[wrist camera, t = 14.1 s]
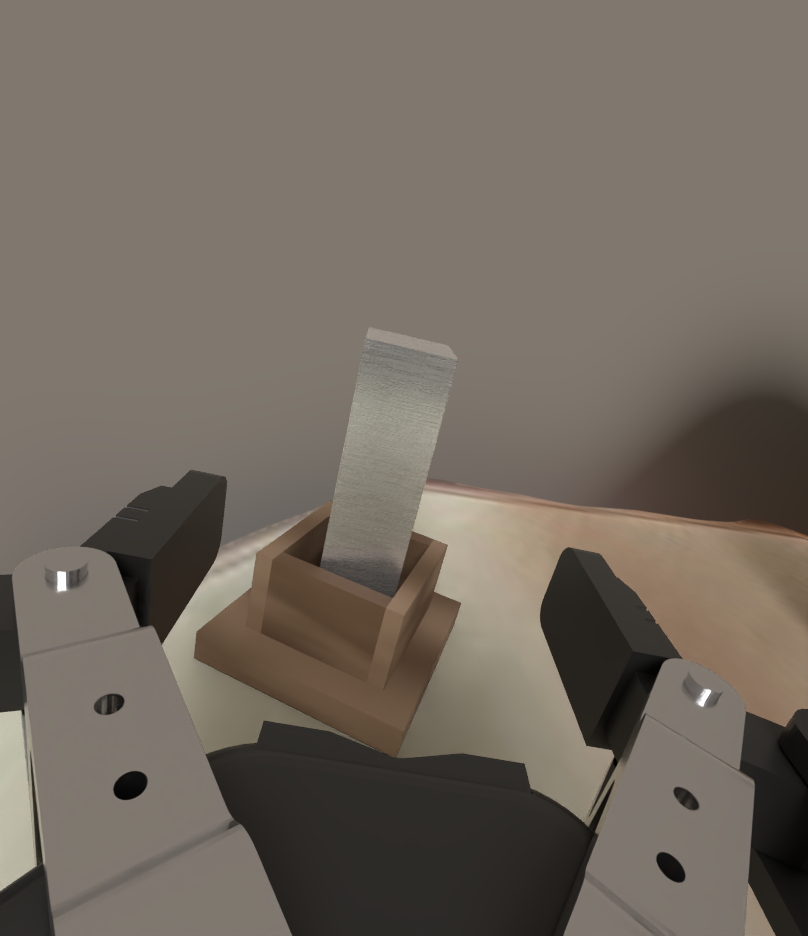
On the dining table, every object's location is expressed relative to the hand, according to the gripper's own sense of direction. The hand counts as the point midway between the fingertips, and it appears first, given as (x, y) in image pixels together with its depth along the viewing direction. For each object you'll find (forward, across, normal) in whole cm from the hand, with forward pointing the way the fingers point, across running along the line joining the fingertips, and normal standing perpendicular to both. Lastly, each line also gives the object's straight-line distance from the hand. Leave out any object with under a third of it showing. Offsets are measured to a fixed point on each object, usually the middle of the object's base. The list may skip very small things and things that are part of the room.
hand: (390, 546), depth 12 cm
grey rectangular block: (+11, 0, +11) cm, 15 cm away
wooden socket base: (+11, 0, +12) cm, 16 cm away
